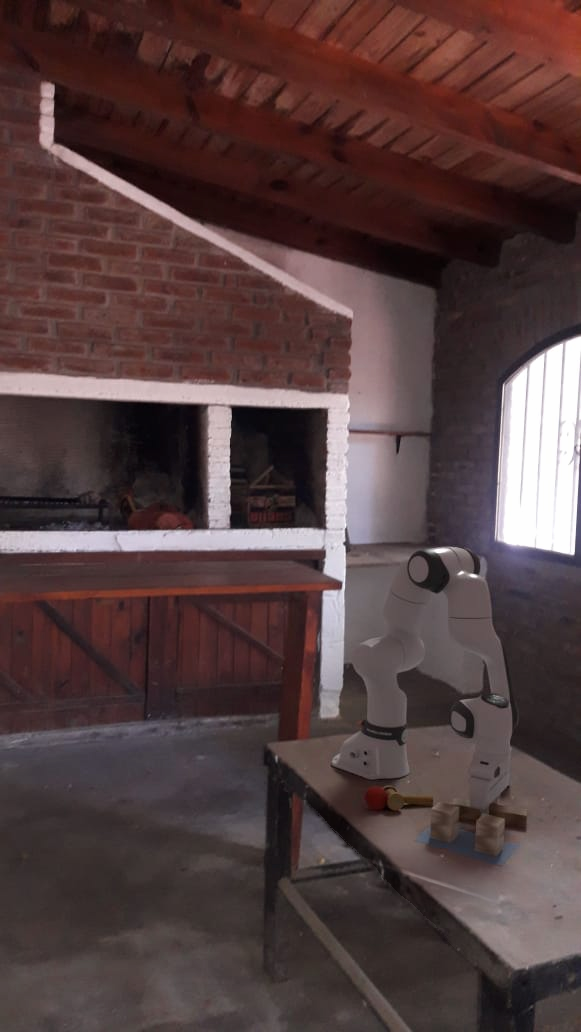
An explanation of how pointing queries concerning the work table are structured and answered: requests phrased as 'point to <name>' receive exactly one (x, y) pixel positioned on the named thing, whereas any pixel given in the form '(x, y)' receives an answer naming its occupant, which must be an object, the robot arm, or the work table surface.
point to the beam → (493, 812)
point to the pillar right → (489, 834)
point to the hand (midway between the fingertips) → (489, 814)
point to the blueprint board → (468, 846)
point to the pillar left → (444, 822)
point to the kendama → (393, 798)
